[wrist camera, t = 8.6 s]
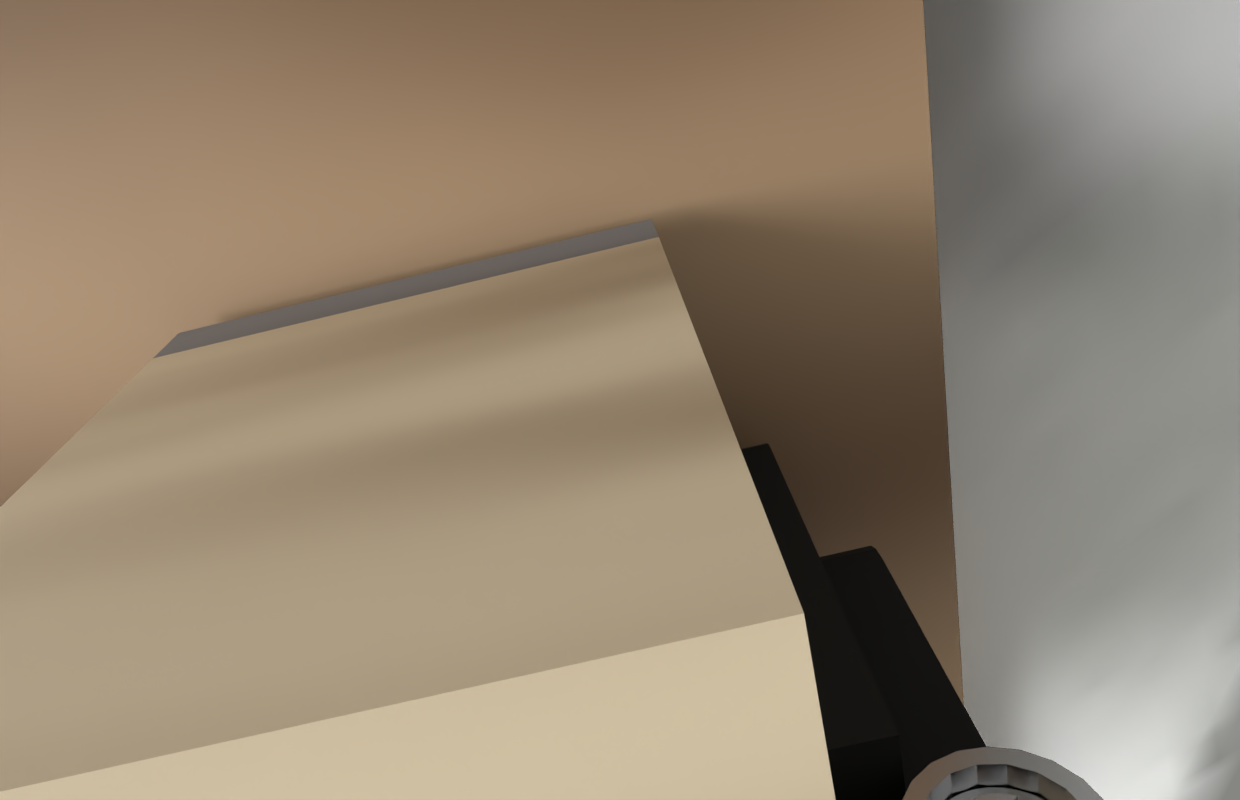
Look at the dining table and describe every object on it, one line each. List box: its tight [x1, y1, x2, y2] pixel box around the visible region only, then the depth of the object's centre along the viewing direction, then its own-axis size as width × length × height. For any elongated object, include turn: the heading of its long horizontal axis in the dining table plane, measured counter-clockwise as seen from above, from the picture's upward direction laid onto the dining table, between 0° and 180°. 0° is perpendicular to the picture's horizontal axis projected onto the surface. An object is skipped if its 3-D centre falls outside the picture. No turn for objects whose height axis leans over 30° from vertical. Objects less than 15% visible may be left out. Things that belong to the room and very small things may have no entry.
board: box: [0, 0, 964, 706], centre depth 10 cm, size 20×10×2 cm, turn 13°
